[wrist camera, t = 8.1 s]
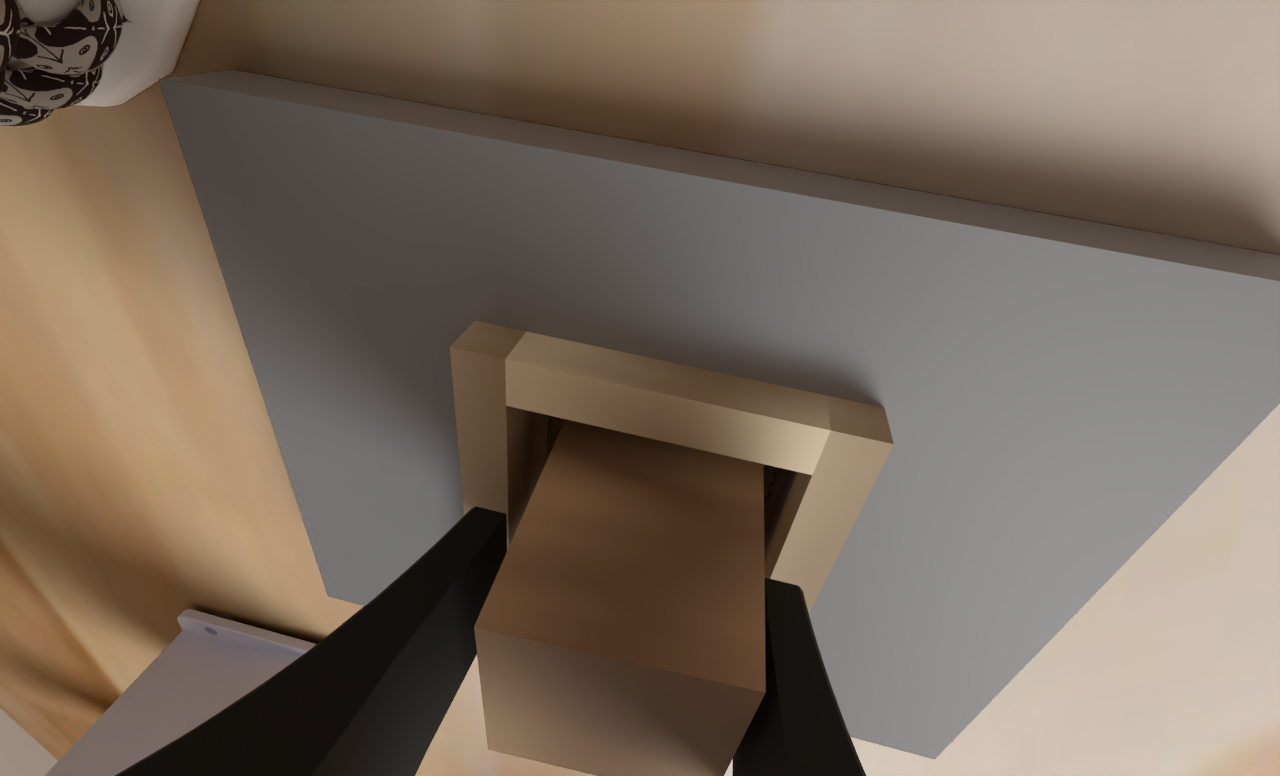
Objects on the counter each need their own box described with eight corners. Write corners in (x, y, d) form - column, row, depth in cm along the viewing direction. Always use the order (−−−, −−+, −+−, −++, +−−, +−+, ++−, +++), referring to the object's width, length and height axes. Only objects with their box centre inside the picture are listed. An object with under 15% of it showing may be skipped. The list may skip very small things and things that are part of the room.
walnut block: (575, 502, 15) (487, 749, 10) (582, 378, 13) (474, 627, 8) (726, 533, 15) (710, 802, 10) (763, 413, 12) (765, 692, 8)
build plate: (357, 556, 19) (305, 625, 16) (230, 69, 10) (98, 85, 8) (923, 704, 17) (943, 801, 15) (1296, 257, 9) (1452, 335, 7)
